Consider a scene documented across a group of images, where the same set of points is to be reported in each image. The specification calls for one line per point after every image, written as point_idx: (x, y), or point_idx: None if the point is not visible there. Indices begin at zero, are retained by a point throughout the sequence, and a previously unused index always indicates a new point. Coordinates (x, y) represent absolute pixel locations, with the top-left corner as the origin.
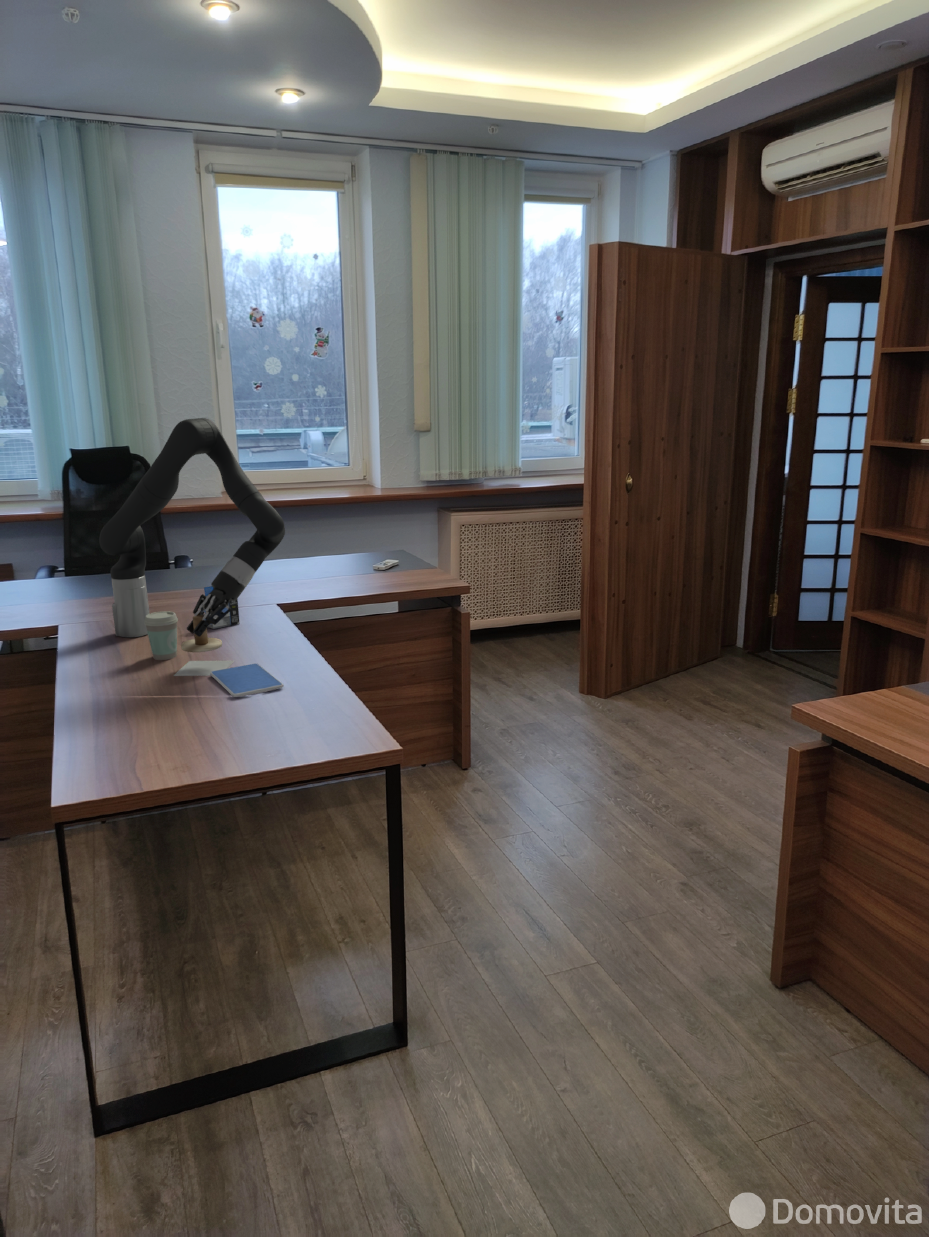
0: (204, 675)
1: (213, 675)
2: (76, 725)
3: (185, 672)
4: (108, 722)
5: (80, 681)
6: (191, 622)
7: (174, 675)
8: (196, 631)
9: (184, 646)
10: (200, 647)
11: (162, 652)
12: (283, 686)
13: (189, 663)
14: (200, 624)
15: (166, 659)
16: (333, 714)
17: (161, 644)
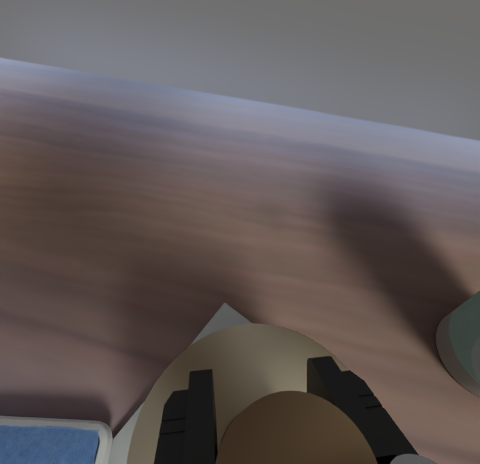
0: (141, 405)
1: (51, 422)
2: (64, 80)
3: None
4: (23, 111)
5: (332, 132)
6: (345, 398)
7: (225, 306)
8: (181, 390)
9: (256, 336)
10: None
11: (454, 323)
12: None
13: None
14: (185, 446)
15: (439, 344)
16: None
17: (475, 310)
